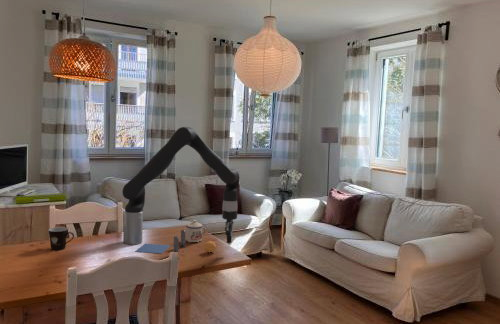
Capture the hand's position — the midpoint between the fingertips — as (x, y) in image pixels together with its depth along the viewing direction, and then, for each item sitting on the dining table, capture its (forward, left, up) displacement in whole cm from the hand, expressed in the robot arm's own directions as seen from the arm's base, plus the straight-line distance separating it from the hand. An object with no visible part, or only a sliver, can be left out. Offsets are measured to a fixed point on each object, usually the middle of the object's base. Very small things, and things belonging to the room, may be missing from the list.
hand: (229, 242), depth 203 cm
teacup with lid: (-22, +20, -6) cm, 30 cm away
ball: (-10, 0, -3) cm, 10 cm away
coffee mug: (-84, -12, -6) cm, 85 cm away
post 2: (-26, +7, -6) cm, 27 cm away
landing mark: (-40, 0, -6) cm, 40 cm away
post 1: (-26, -6, -6) cm, 27 cm away
